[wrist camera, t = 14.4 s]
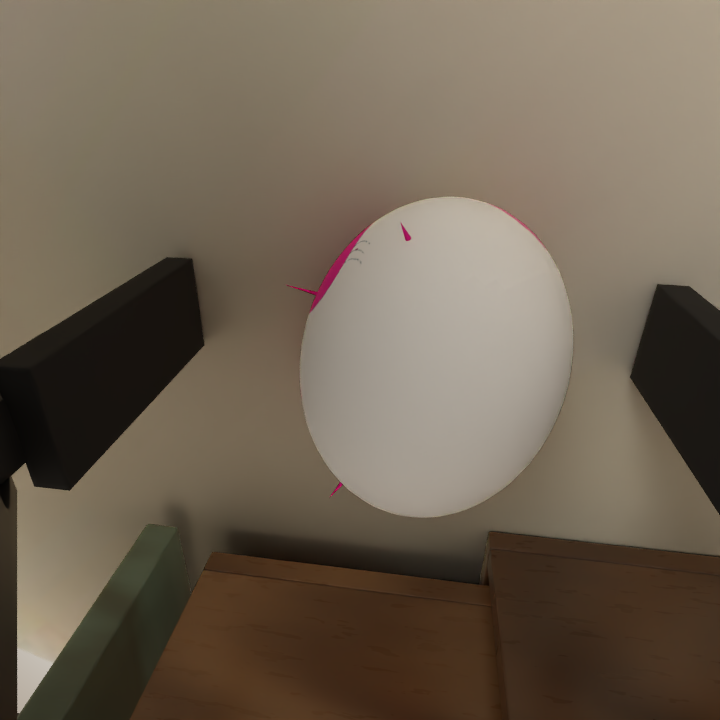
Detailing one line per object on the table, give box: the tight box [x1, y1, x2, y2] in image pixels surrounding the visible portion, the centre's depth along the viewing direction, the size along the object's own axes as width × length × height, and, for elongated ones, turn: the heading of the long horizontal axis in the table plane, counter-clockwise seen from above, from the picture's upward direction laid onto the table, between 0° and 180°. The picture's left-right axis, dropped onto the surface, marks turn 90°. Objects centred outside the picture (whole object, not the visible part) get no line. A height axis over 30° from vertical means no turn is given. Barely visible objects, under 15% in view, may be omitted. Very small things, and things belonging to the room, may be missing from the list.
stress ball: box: [287, 196, 573, 518], centre depth 13 cm, size 8×8×7 cm
